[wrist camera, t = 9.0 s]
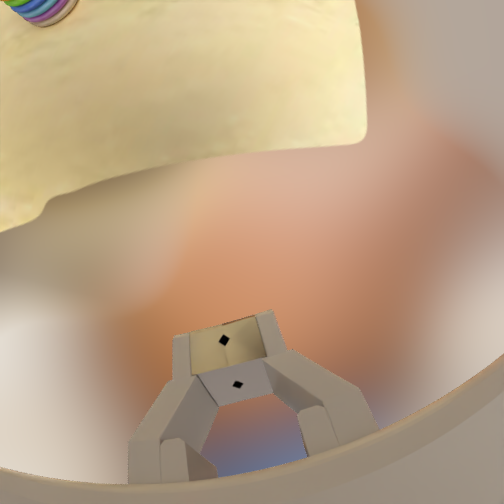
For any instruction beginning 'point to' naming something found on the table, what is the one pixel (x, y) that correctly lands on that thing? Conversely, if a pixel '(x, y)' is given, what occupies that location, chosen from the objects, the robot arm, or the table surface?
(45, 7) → the stacking toy
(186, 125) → the table surface
